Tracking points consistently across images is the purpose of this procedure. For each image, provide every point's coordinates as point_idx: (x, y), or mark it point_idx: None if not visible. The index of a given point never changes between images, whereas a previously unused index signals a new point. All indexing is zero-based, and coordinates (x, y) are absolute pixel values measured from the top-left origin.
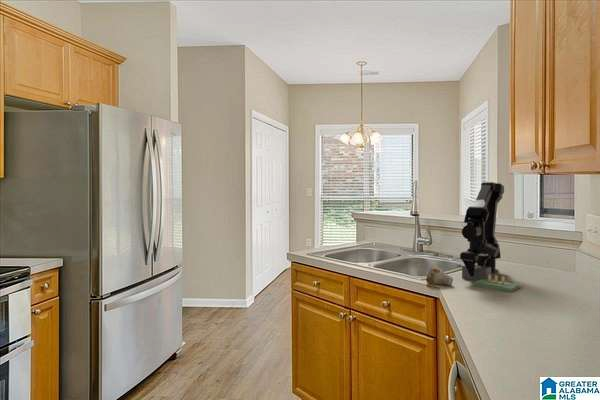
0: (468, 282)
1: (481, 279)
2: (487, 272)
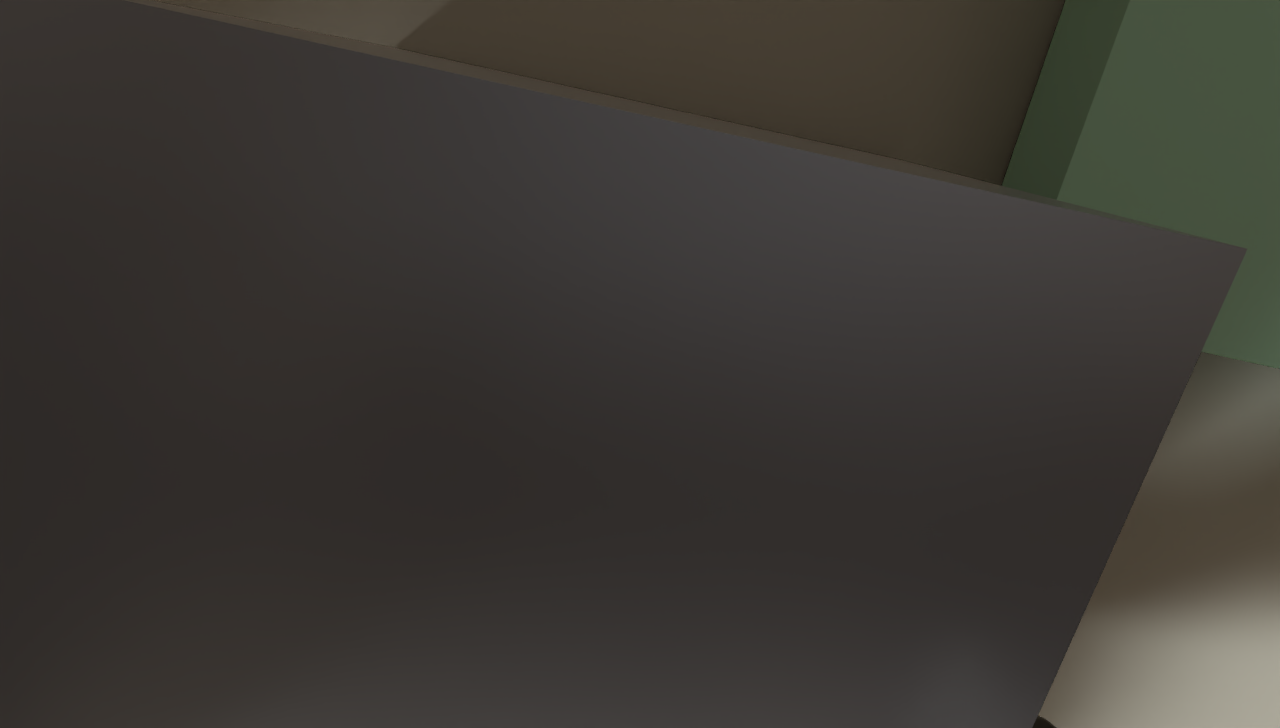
0: (1260, 674)
1: (1214, 330)
2: (858, 156)
